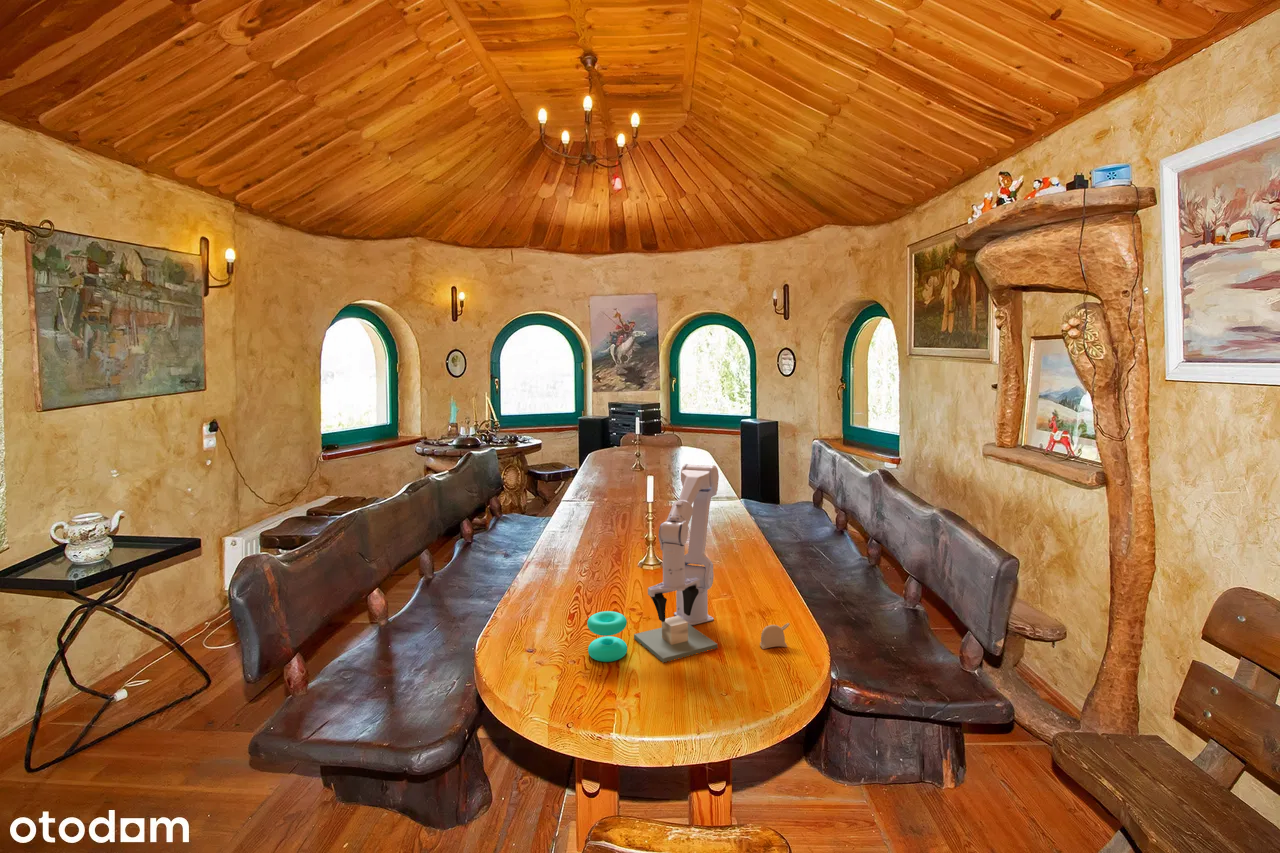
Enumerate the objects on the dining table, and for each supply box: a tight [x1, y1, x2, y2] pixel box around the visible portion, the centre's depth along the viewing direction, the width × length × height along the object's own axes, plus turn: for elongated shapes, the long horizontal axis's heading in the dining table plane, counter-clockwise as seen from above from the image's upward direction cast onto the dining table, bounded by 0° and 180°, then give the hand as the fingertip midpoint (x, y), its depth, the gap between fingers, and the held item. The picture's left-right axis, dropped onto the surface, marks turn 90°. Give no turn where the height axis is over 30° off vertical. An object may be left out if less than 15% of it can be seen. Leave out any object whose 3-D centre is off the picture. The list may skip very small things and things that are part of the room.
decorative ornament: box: [759, 622, 791, 650], centre depth 175 cm, size 4×8×5 cm, turn 98°
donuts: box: [586, 610, 628, 663], centre depth 171 cm, size 10×10×10 cm
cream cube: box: [661, 615, 688, 645], centre depth 176 cm, size 5×5×5 cm
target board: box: [633, 624, 719, 664], centre depth 177 cm, size 16×16×1 cm
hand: (674, 617), depth 176 cm, fingers open, 7 cm apart
